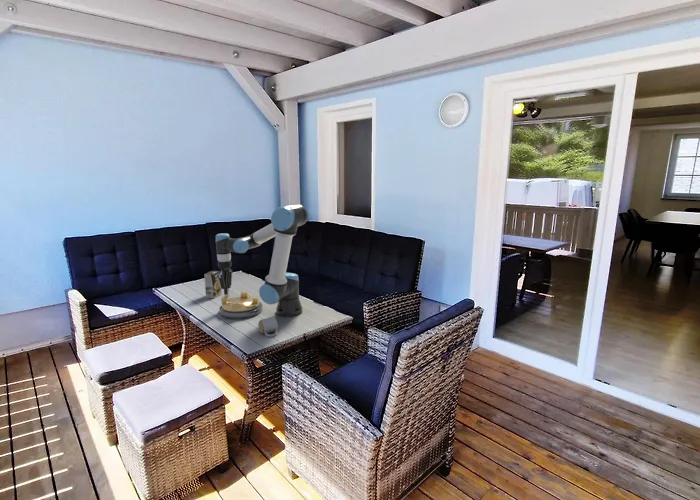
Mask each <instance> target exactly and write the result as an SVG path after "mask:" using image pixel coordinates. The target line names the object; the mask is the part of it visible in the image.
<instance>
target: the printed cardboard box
mask: <svg viewBox="0 0 700 500" xmlns="http://www.w3.org/2000/svg"><path fill="white" fill-rule="evenodd" d="M219 274H220V270H210V271H208V272H206V273H204V275H203V276H204V277H203V278H204V289H205V298H206V299H216V298H218V297H220V296H221V295H222V293H223V291H222V290H223V289H221V285H220V281H219V278H218V275H219Z"/></svg>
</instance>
